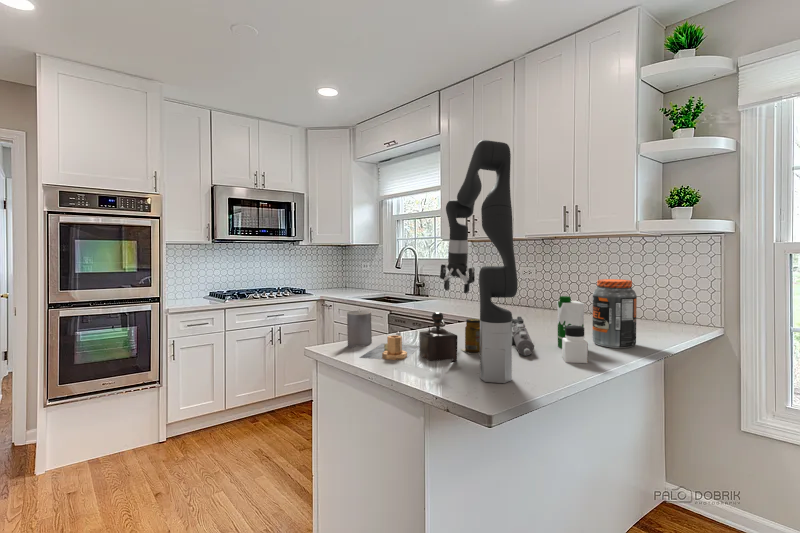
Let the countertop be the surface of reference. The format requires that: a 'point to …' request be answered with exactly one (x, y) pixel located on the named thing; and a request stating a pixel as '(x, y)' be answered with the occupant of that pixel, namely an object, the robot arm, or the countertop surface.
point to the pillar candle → (359, 328)
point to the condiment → (472, 336)
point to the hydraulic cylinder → (521, 337)
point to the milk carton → (568, 315)
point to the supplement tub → (614, 313)
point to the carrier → (378, 351)
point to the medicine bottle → (574, 345)
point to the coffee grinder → (438, 342)
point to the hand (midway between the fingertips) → (456, 291)
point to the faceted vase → (394, 348)
